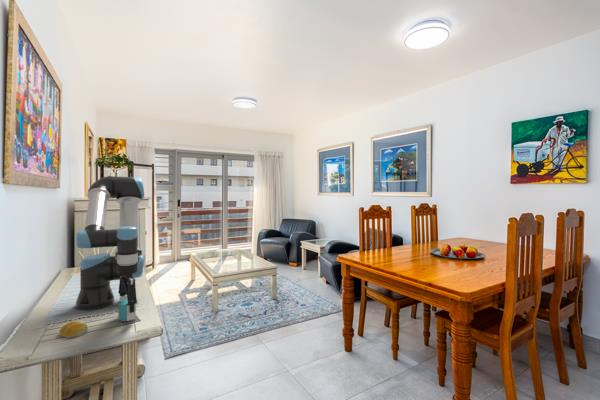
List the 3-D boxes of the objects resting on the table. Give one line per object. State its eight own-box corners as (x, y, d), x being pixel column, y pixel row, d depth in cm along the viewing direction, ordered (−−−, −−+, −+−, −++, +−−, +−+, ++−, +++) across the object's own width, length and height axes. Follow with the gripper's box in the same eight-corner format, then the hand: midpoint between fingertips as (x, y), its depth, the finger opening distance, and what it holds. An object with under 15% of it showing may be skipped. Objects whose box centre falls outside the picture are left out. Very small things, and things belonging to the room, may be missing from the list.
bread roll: (70, 340, 109) (70, 329, 109) (55, 335, 112) (55, 325, 112) (93, 330, 117) (93, 320, 116) (78, 326, 120) (78, 316, 120)
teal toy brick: (118, 317, 126) (118, 302, 126) (132, 314, 130) (132, 299, 130) (121, 321, 122) (121, 305, 122) (135, 317, 126) (135, 302, 126)
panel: (118, 319, 126) (118, 319, 126) (135, 315, 131) (135, 314, 131) (123, 325, 121) (123, 324, 121) (140, 320, 126) (140, 320, 126)
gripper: (110, 259, 131) (110, 309, 132) (124, 270, 115) (124, 327, 115) (129, 257, 137) (129, 305, 137) (145, 267, 120) (145, 321, 120)
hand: (127, 315), depth 126 cm, fingers open, 11 cm apart
